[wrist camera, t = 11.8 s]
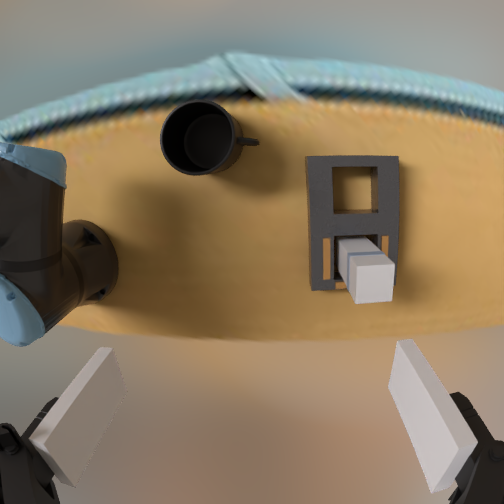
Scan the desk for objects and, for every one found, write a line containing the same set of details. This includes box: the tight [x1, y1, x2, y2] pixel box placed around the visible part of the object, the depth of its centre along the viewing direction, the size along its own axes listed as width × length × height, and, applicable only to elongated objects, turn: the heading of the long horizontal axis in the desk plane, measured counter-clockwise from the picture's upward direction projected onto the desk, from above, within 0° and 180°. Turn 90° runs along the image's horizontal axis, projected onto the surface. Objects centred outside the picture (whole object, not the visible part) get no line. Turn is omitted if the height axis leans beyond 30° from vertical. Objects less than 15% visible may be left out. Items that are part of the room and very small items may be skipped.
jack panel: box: [305, 156, 399, 291], centre depth 44 cm, size 13×19×4 cm
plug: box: [336, 236, 395, 304], centre depth 41 cm, size 5×5×14 cm
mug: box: [160, 100, 260, 176], centre depth 40 cm, size 9×12×9 cm
